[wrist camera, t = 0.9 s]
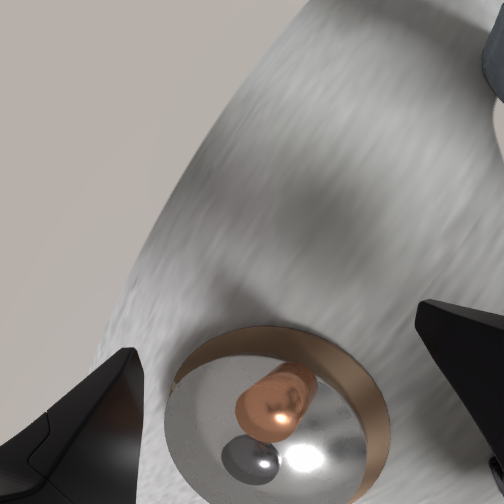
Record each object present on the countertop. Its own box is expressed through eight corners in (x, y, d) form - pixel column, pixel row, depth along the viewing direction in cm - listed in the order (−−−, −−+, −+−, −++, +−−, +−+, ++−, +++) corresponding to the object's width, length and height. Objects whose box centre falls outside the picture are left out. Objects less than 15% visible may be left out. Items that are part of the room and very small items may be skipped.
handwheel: (307, 532, 16) (280, 583, 10) (164, 451, 22) (113, 481, 16) (413, 398, 15) (425, 451, 9) (215, 307, 21) (152, 315, 15)
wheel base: (429, 461, 15) (431, 469, 13) (250, 527, 19) (245, 534, 18) (296, 274, 20) (291, 273, 19) (144, 388, 25) (136, 391, 24)
